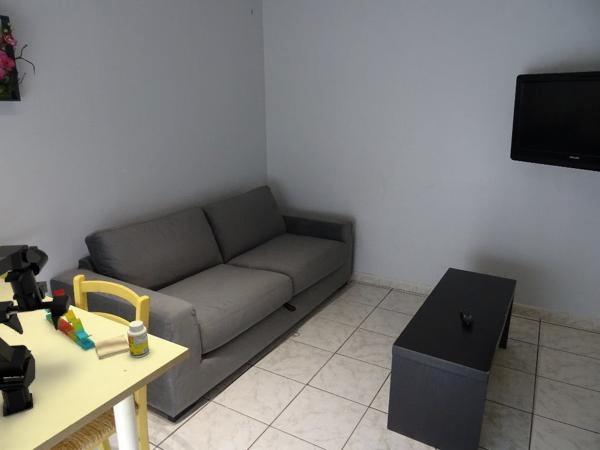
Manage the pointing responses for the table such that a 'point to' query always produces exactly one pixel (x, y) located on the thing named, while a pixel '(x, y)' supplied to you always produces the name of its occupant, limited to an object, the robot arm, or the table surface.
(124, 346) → the wooden pad
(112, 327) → the table surface
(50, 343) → the table surface
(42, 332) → the table surface
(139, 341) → the supplement bottle
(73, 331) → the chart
